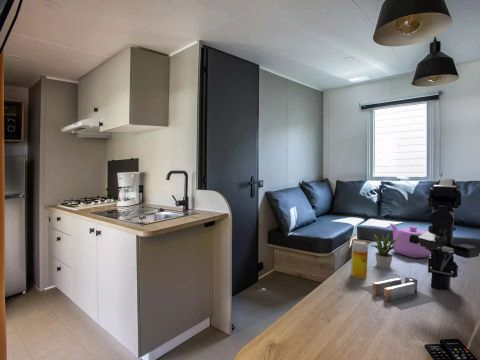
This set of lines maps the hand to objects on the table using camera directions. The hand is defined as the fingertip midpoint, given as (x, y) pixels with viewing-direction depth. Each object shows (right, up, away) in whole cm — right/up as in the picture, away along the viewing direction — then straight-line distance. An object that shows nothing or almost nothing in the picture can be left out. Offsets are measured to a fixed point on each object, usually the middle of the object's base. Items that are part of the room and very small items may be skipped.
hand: (439, 270), depth 92 cm
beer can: (-16, -12, +26) cm, 32 cm away
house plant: (0, -11, +36) cm, 37 cm away
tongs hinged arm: (-9, -11, +8) cm, 17 cm away
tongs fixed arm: (-12, -11, +10) cm, 19 cm away
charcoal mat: (-9, -12, +9) cm, 18 cm away
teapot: (+26, -10, +58) cm, 64 cm away
